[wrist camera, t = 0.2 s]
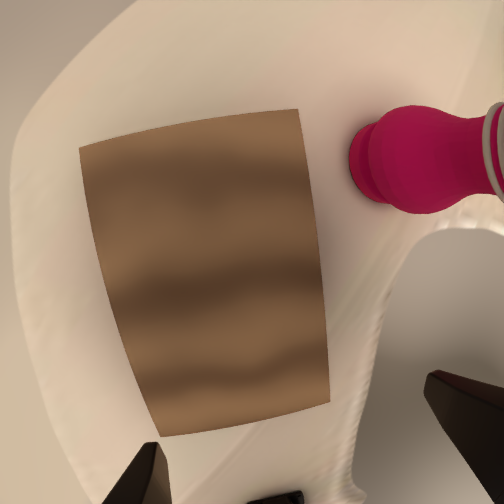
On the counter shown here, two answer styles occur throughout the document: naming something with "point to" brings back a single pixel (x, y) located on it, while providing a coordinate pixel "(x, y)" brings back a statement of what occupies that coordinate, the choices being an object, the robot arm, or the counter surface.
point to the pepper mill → (429, 158)
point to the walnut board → (213, 267)
